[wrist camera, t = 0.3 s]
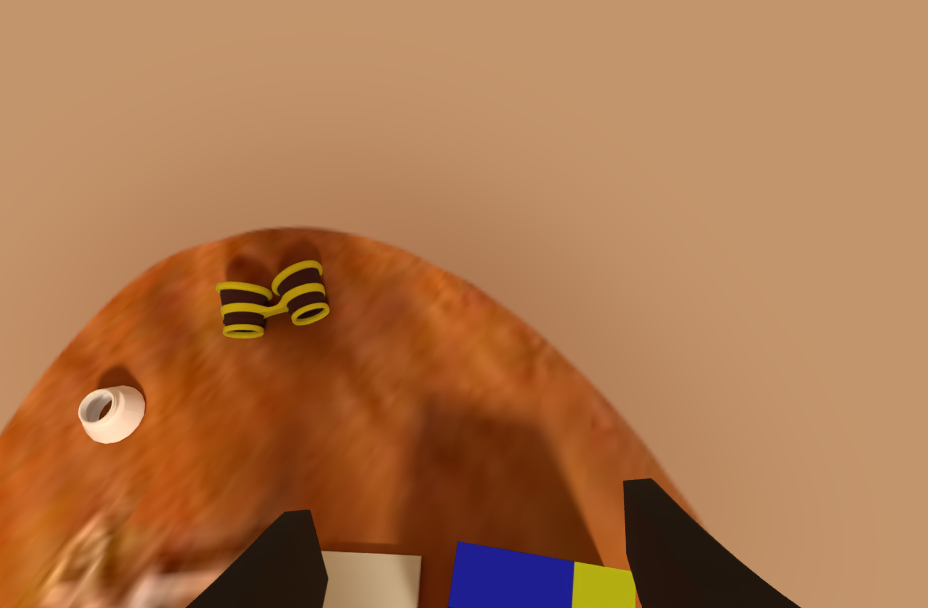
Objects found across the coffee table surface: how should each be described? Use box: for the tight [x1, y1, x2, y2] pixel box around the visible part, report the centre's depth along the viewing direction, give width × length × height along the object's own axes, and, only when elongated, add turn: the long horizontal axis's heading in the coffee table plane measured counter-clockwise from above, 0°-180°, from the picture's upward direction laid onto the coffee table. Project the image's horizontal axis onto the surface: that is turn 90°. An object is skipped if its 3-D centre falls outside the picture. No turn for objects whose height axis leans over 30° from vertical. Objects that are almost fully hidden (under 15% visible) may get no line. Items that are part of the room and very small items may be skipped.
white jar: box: [78, 385, 145, 444], centre depth 45 cm, size 5×3×5 cm
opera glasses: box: [215, 260, 330, 338], centre depth 47 cm, size 10×5×5 cm, turn 105°
